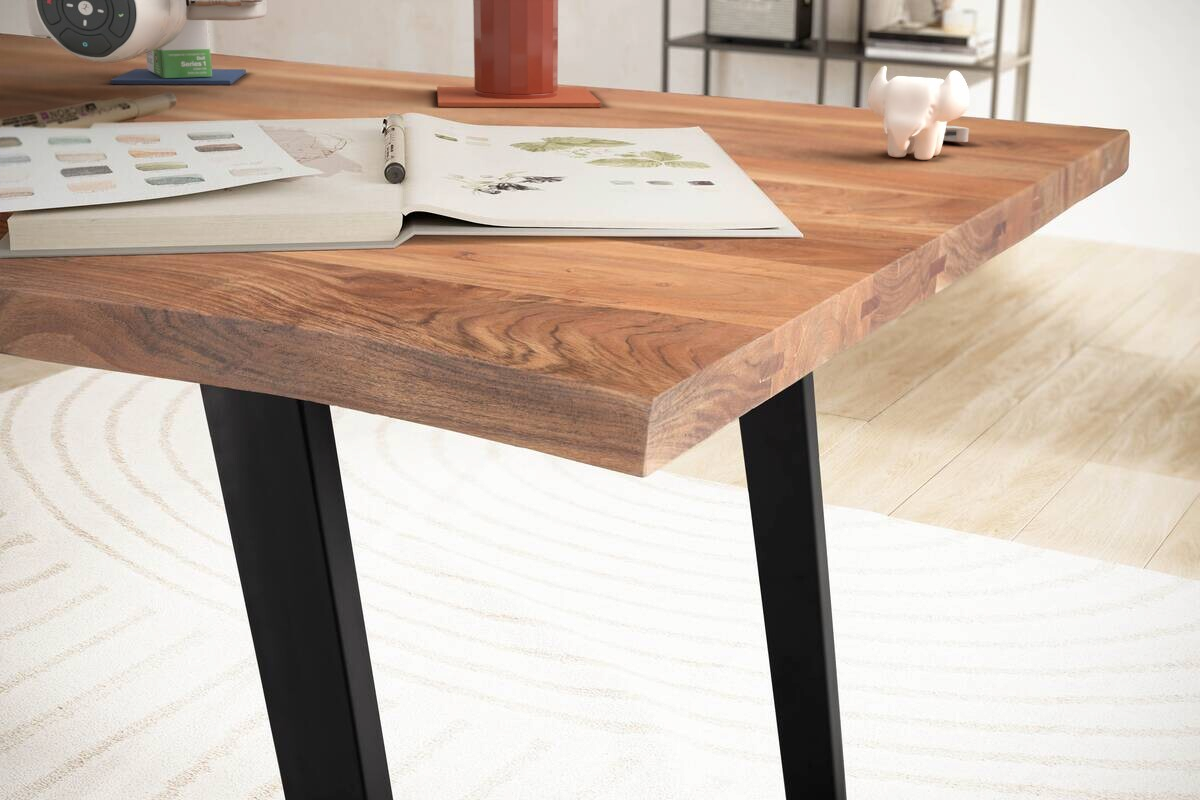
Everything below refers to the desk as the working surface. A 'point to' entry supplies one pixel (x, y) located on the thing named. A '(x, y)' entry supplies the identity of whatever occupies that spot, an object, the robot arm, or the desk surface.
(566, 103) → the terracotta mat
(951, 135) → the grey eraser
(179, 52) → the ink box
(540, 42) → the terracotta cup
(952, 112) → the elephant figurine
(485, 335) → the desk surface
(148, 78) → the blue mat
